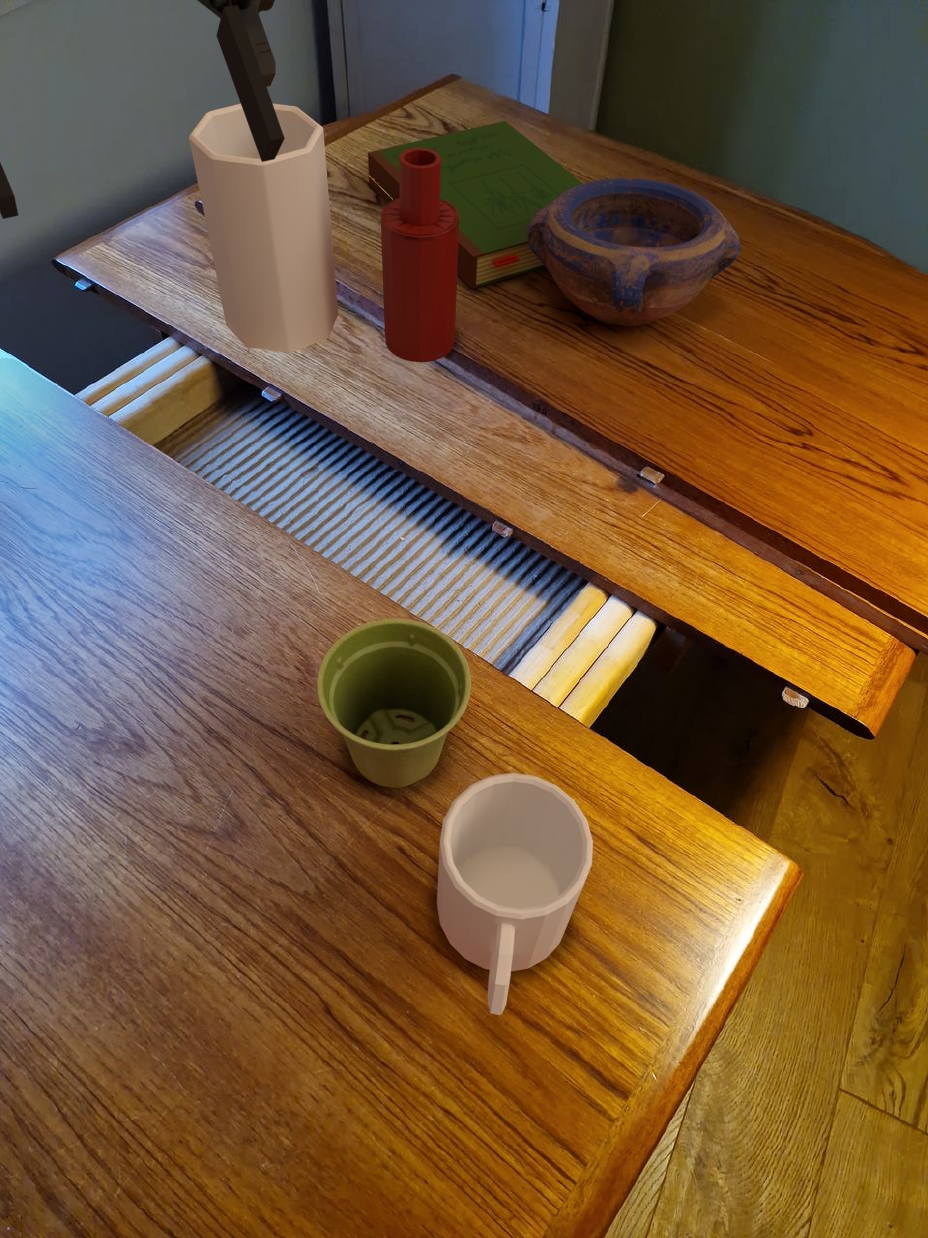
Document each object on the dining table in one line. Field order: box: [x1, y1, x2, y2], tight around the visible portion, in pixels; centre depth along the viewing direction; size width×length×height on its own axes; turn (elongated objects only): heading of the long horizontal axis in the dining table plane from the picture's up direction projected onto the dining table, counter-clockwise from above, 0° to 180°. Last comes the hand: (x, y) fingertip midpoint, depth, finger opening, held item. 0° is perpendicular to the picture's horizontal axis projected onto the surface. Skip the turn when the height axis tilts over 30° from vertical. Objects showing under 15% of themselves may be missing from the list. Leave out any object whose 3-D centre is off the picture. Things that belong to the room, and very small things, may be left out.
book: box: [367, 120, 584, 290], centre depth 102 cm, size 25×19×4 cm
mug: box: [436, 772, 594, 1016], centre depth 50 cm, size 8×12×10 cm
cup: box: [188, 103, 339, 354], centre depth 82 cm, size 11×11×18 cm
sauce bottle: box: [380, 148, 459, 363], centre depth 82 cm, size 7×7×18 cm
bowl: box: [527, 177, 742, 327], centre depth 90 cm, size 18×18×10 cm
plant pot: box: [316, 618, 472, 789], centre depth 58 cm, size 9×9×9 cm
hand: (147, 178), depth 45 cm, fingers open, 13 cm apart
